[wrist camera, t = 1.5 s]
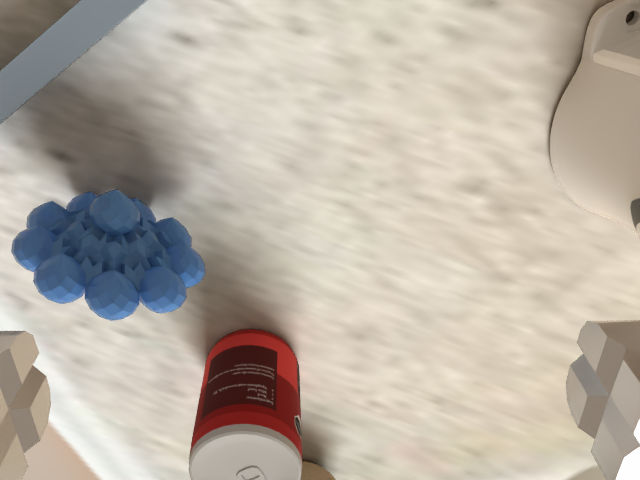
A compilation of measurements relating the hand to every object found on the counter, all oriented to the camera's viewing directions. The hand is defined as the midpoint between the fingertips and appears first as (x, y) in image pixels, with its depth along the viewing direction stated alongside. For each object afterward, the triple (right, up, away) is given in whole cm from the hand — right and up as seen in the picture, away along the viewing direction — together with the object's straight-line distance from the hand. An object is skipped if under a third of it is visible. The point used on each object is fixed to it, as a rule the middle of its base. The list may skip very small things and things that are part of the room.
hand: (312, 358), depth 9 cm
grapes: (-13, +5, +33) cm, 36 cm away
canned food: (-5, -8, +41) cm, 42 cm away
